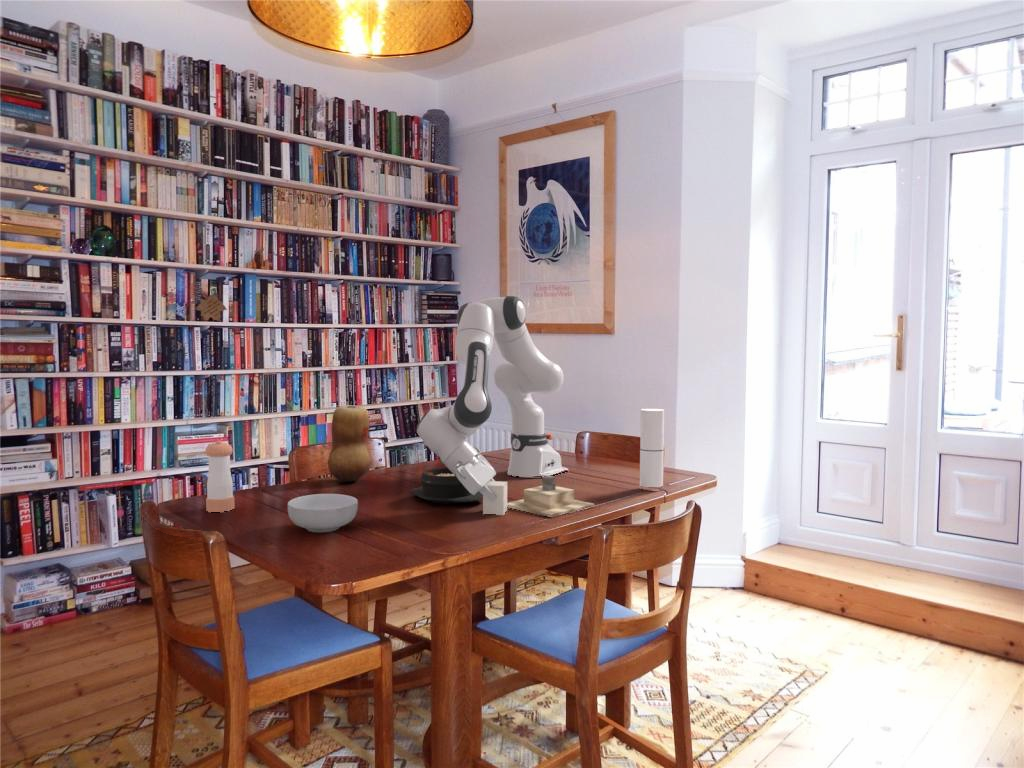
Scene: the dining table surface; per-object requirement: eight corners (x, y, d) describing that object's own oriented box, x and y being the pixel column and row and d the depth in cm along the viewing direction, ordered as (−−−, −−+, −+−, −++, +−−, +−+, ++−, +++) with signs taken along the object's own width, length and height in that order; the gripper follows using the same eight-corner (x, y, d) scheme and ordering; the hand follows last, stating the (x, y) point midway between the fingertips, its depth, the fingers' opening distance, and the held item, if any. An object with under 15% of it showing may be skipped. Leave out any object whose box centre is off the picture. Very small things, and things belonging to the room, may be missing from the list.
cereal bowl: (292, 540, 175) (292, 511, 174) (284, 524, 190) (283, 496, 189) (364, 533, 181) (364, 504, 181) (350, 517, 197) (350, 491, 196)
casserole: (395, 499, 219) (395, 471, 218) (440, 489, 233) (439, 462, 232) (457, 512, 203) (457, 481, 202) (501, 500, 217) (501, 472, 217)
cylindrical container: (637, 490, 231) (638, 410, 230) (642, 486, 238) (643, 408, 236) (660, 492, 229) (661, 411, 227) (664, 487, 235) (666, 409, 234)
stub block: (546, 497, 221) (547, 468, 221) (594, 507, 209) (594, 477, 208) (503, 507, 209) (503, 477, 208) (551, 518, 196) (551, 486, 195)
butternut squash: (361, 486, 236) (360, 408, 234) (321, 484, 238) (320, 407, 237) (376, 478, 250) (375, 404, 248) (338, 476, 252) (337, 403, 250)
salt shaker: (221, 513, 200) (220, 443, 199) (200, 511, 203) (198, 441, 201) (240, 507, 207) (238, 439, 206) (219, 505, 209) (217, 438, 208)
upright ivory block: (487, 509, 206) (487, 480, 205) (507, 510, 205) (507, 481, 204) (483, 514, 200) (483, 485, 200) (503, 515, 199) (503, 485, 199)
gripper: (461, 458, 192) (498, 497, 191) (478, 446, 212) (512, 481, 211) (444, 474, 193) (481, 513, 192) (463, 461, 213) (496, 496, 212)
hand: (497, 496), depth 202 cm, fingers closed on upright ivory block, 6 cm apart
